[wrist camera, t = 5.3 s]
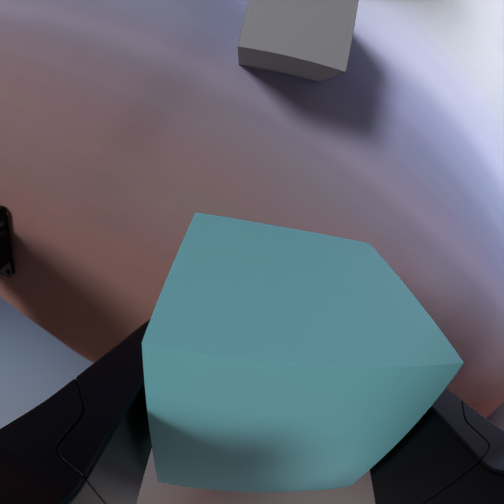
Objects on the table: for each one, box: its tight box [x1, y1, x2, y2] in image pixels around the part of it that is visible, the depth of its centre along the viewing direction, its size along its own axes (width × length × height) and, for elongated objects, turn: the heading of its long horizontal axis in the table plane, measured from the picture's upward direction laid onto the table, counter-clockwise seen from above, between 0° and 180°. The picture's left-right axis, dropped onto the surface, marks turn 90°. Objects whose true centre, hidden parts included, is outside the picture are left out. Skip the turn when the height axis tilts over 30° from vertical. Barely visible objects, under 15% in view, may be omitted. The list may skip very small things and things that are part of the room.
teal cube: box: [142, 213, 464, 492], centre depth 7 cm, size 5×5×5 cm
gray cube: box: [238, 0, 358, 82], centre depth 13 cm, size 5×5×5 cm
